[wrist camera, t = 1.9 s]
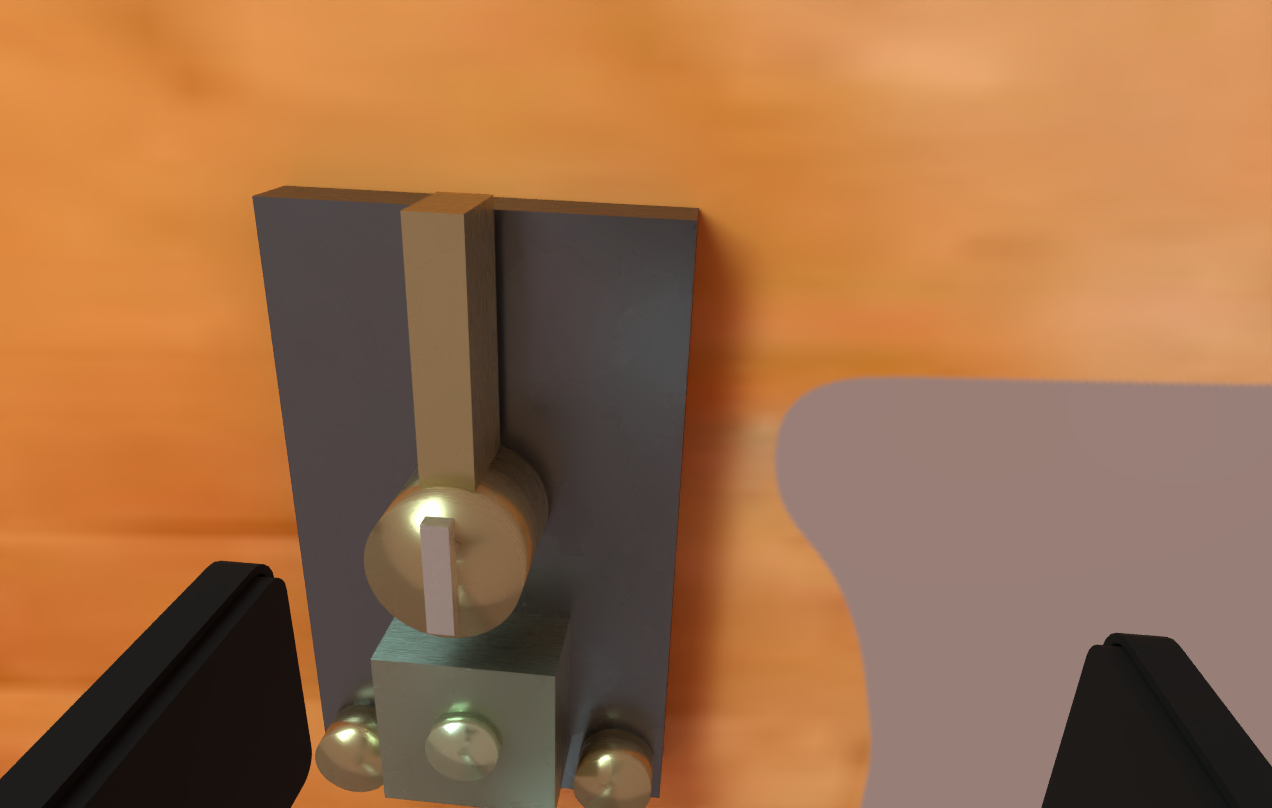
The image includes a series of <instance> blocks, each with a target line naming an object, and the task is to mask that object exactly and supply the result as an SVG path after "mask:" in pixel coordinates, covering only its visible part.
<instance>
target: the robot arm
mask: <svg viewBox="0 0 1272 808" xmlns="http://www.w3.org/2000/svg"><path fill="white" fill-rule="evenodd" d="M311 758H312V748H311V741H310V735H309V728H308V722H307V716H306V709H305V703H304V697H303V690H302V684H301V677H300V671H299V665H298V658H297V652H296V645H295V639H294V633H293V626H292V620H291V613H290V607H289V601H288V594H287V589H286V585H285V583H284V581H283V580H282V579H280V578H274V576H273V572H272V571H271V569H270V568H269V566H266V565H264V564H254V563H241V562H229V561H217V562H214V563H212V564H211V565H210V566H208V567H207V568H206V569H205V570H204V571H203V572H202V573H201V574H200V575H199V576H198V577H197V578H196V580H195V581H194V582H193V583H192V584H191V585H190V586H189V587H188V588H187V589H186V590H185V591H184V592H183V593H182V594H181V595H180V596H179V597H178V598H177V599H176V600H175V601H174V602H173V603H172V604H171V605H170V606H169V607H168V608H167V609H166V610H165V611H164V612H163V613H162V614H161V615H160V616H159V617H158V618H157V619H156V620H155V621H154V622H153V623H152V625H151V626H150V627H149V628H148V629H147V630H146V631H145V632H144V633H143V634H142V635H141V636H140V637H139V638H138V639H137V640H136V641H135V642H134V643H133V644H132V645H131V646H130V647H129V648H128V649H127V650H126V651H125V652H124V653H123V654H122V655H121V656H120V657H119V658H118V659H117V660H116V661H115V662H114V663H113V664H112V665H111V666H110V667H109V668H108V670H107V671H106V672H105V673H104V674H103V675H102V676H101V677H100V678H99V679H98V680H97V681H96V682H95V683H94V684H93V685H92V686H91V687H90V688H89V689H88V690H87V691H86V692H85V693H84V694H83V695H82V696H81V697H80V698H79V699H78V700H77V701H76V702H75V703H74V704H73V705H72V706H71V707H70V708H69V709H68V710H67V711H66V712H65V713H64V714H63V716H62V717H61V718H60V719H59V720H58V721H57V722H56V723H55V724H54V725H53V726H52V727H51V728H50V729H49V730H48V731H47V732H46V733H45V734H44V735H43V736H42V737H41V738H40V739H39V740H38V741H37V742H36V743H35V744H34V745H33V746H32V747H31V748H30V749H29V750H28V751H27V752H26V753H25V754H24V755H23V756H22V757H21V758H20V759H19V761H18V762H17V763H16V764H15V765H14V766H13V767H12V768H11V769H10V770H9V771H8V772H7V773H6V774H5V775H4V776H3V777H2V778H1V779H0V808H291V806H292V805H293V803H294V801H295V799H296V797H297V796H298V794H299V792H300V790H301V789H302V787H303V785H304V783H305V781H306V779H307V776H308V773H309V770H310V765H311ZM1042 808H1272V767H1271V765H1270V764H1269V762H1268V761H1267V760H1266V758H1265V757H1264V756H1263V755H1262V753H1261V752H1260V751H1259V749H1258V748H1257V747H1256V745H1255V744H1254V743H1253V741H1252V740H1251V739H1250V737H1249V736H1248V735H1247V734H1246V732H1245V731H1244V730H1243V728H1242V727H1241V726H1240V724H1239V723H1238V722H1237V720H1236V719H1235V718H1234V717H1233V715H1232V714H1231V713H1230V711H1229V710H1228V709H1227V707H1226V706H1225V705H1224V703H1223V702H1222V701H1221V700H1220V698H1219V697H1218V696H1217V694H1216V693H1215V691H1214V690H1213V689H1212V688H1211V686H1210V685H1209V684H1208V682H1207V681H1206V680H1205V679H1204V677H1203V676H1202V674H1201V673H1200V672H1199V671H1198V669H1197V668H1196V666H1195V665H1194V664H1193V663H1192V661H1191V660H1190V659H1189V657H1188V656H1187V655H1186V653H1185V652H1184V651H1183V649H1182V648H1181V647H1180V646H1179V645H1178V644H1177V643H1176V642H1175V641H1174V640H1173V639H1171V638H1168V637H1161V636H1149V635H1137V634H1136V635H1135V634H1124V633H1114V634H1110V636H1109V637H1107V639H1106V640H1105V642H1104V644H1103V645H1094V646H1092V647H1091V648H1090V649H1089V651H1088V654H1087V656H1086V660H1085V663H1084V666H1083V670H1082V673H1081V677H1080V680H1079V683H1078V687H1077V690H1076V693H1075V697H1074V700H1073V704H1072V707H1071V710H1070V713H1069V717H1068V720H1067V723H1066V727H1065V730H1064V734H1063V737H1062V740H1061V744H1060V747H1059V751H1058V754H1057V757H1056V760H1055V764H1054V767H1053V771H1052V774H1051V777H1050V781H1049V784H1048V788H1047V791H1046V794H1045V797H1044V801H1043V804H1042Z"/></svg>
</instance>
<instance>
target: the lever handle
mask: <svg viewBox="0 0 1272 808" xmlns="http://www.w3.org/2000/svg"><path fill="white" fill-rule="evenodd" d="M400 214H401V228H402V242H403V257H404V271H405V285H406V300H407V314H408V328H409V343H410V357H411V372H412V386H413V400H414V415H415V429H416V443H417V458H418V467H417V468H416V470H415V471H414V472H413V474H412V475H411V477H410V478H409V479H408V481H407V482H406V484H405V485H404V486H403V488H402V489H401V491H400V492H399V493H398V495H397V496H396V497H395V499H394V500H393V502H392V503H391V504H390V506H389V507H388V509H387V510H386V511H385V513H384V514H383V516H382V517H381V518H380V520H379V521H378V523H377V524H376V525H375V527H374V528H373V530H372V531H371V533H370V535H369V537H368V539H367V542H366V546H365V551H364V568H365V574H366V577H367V580H368V583H369V585H370V587H371V589H372V591H373V593H374V594H375V596H376V598H377V599H378V600H379V602H380V603H381V604H382V605H383V607H384V608H385V609H386V610H387V611H389V612H390V613H391V614H392V615H393V616H394V617H396V618H397V619H398V620H399V621H401V622H403V623H404V624H406V625H407V626H409V627H411V628H414V629H416V630H418V631H421V632H423V633H426V634H430V635H434V636H438V637H445V638H465V637H471V636H476V635H479V634H482V633H485V632H487V631H489V630H491V629H493V628H495V627H496V626H498V625H500V624H501V623H502V622H503V621H504V620H505V619H507V618H508V616H509V615H510V614H511V613H512V612H513V610H514V608H515V607H516V605H517V603H518V600H519V598H520V595H521V592H522V590H523V587H524V584H525V581H526V579H527V576H528V573H529V570H530V568H531V565H532V562H533V559H534V557H535V554H536V551H537V548H538V546H539V543H540V540H541V537H542V535H543V532H544V529H545V526H546V523H547V519H548V511H549V506H548V498H547V493H546V490H545V487H544V485H543V483H542V481H541V479H540V477H539V475H538V474H537V473H536V471H535V470H534V468H533V467H532V466H531V465H530V464H529V463H528V462H527V461H526V460H525V459H524V458H522V457H521V456H520V455H518V454H517V453H515V452H514V451H512V450H511V449H509V448H507V447H505V446H502V445H500V420H499V383H498V346H497V309H496V272H495V235H494V198H493V195H489V194H470V193H452V192H436V193H434V194H432V195H430V196H428V197H426V198H424V199H422V200H420V201H418V202H416V203H414V204H412V205H410V206H409V207H407V208H405V209H403V210H401V211H400Z"/></svg>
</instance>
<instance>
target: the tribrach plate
mask: <svg viewBox="0 0 1272 808" xmlns="http://www.w3.org/2000/svg"><path fill="white" fill-rule="evenodd" d="M430 195H432V194H426V193H408V192H389V191H371V190H353V189H334V188H316V187H297V186H282V187H279V188H276V189H273V190H270V191H267V192H264V193H261V194H257V195H254V196H252V197H253V204H254V212H255V219H256V226H257V234H258V241H259V248H260V256H261V263H262V270H263V278H264V285H265V292H266V300H267V307H268V315H269V322H270V329H271V337H272V344H273V351H274V359H275V366H276V373H277V381H278V388H279V395H280V403H281V410H282V417H283V425H284V432H285V440H286V447H287V454H288V462H289V469H290V476H291V484H292V491H293V498H294V506H295V513H296V520H297V528H298V535H299V543H300V550H301V557H302V565H303V572H304V579H305V587H306V594H307V601H308V609H309V616H310V623H311V631H312V638H313V646H314V653H315V660H316V668H317V675H318V682H319V690H320V697H321V704H322V712H323V719H324V726H325V735H324V736H323V738H322V740H321V742H320V743H319V745H318V747H317V749H316V753H315V760H316V764H317V767H318V769H319V770H320V772H321V773H322V775H323V776H324V777H325V778H326V779H327V780H329V781H330V782H331V783H333V784H334V785H336V786H338V787H340V788H343V789H346V790H349V791H355V792H366V791H371V790H374V789H377V788H378V787H380V786H381V785H383V784H384V793H385V797H386V798H396V799H405V800H415V801H424V802H434V803H444V804H453V805H463V806H472V807H482V808H557V803H558V799H559V794H560V789H561V788H568V789H574V793H575V796H576V798H577V799H578V801H579V802H580V803H581V805H582V806H584V807H585V808H645V806H646V805H647V804H648V802H649V799H650V797H657V798H659V795H660V783H661V770H662V758H663V743H664V728H665V712H666V697H667V682H668V667H669V652H670V637H671V622H672V606H673V591H674V576H675V561H676V546H677V531H678V515H679V500H680V485H681V470H682V455H683V440H684V424H685V409H686V394H687V379H688V364H689V349H690V333H691V318H692V303H693V288H694V273H695V258H696V243H697V227H698V212H699V208H684V207H666V206H648V205H629V204H611V203H592V202H574V201H555V200H537V199H518V198H500V197H493V198H494V235H495V272H496V309H497V346H498V383H499V420H500V445H502V446H505V447H507V448H509V449H511V450H512V451H514V452H515V453H517V454H518V455H520V456H521V457H522V458H524V459H525V460H526V461H527V462H528V463H529V464H530V465H531V466H532V467H533V468H534V470H535V471H536V473H537V474H538V475H539V477H540V479H541V481H542V483H543V485H544V487H545V490H546V493H547V498H548V506H549V511H548V519H547V523H546V526H545V529H544V532H543V535H542V537H541V540H540V543H539V546H538V548H537V551H536V554H535V557H534V559H533V562H532V565H531V568H530V570H529V573H528V576H527V579H526V581H525V584H524V587H523V590H522V592H521V595H520V598H519V600H518V603H517V605H516V607H515V608H514V610H513V612H512V613H511V614H510V615H509V616H508V618H507V619H505V620H504V621H503V622H502V623H501V624H500V625H498V626H496V627H495V628H493V629H491V630H489V631H487V632H485V633H482V634H479V635H476V636H471V637H465V638H445V637H438V636H434V635H430V634H426V633H423V632H421V631H418V630H416V629H414V628H411V627H409V626H407V625H406V624H404V623H403V622H401V621H399V620H398V619H397V618H396V617H394V616H393V615H392V614H391V613H390V612H389V611H387V610H386V609H385V608H384V607H383V605H382V604H381V603H380V602H379V600H378V599H377V598H376V596H375V594H374V593H373V591H372V589H371V587H370V585H369V583H368V580H367V577H366V574H365V568H364V551H365V546H366V542H367V539H368V537H369V535H370V533H371V531H372V530H373V528H374V527H375V525H376V524H377V523H378V521H379V520H380V518H381V517H382V516H383V514H384V513H385V511H386V510H387V509H388V507H389V506H390V504H391V503H392V502H393V500H394V499H395V497H396V496H397V495H398V493H399V492H400V491H401V489H402V488H403V486H404V485H405V484H406V482H407V481H408V479H409V478H410V477H411V475H412V474H413V472H414V471H415V470H416V468H417V467H418V458H417V443H416V429H415V415H414V400H413V386H412V372H411V357H410V343H409V328H408V314H407V300H406V285H405V271H404V257H403V242H402V228H401V214H400V211H401V210H403V209H405V208H407V207H409V206H410V205H412V204H414V203H416V202H418V201H420V200H422V199H424V198H426V197H428V196H430Z"/></svg>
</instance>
